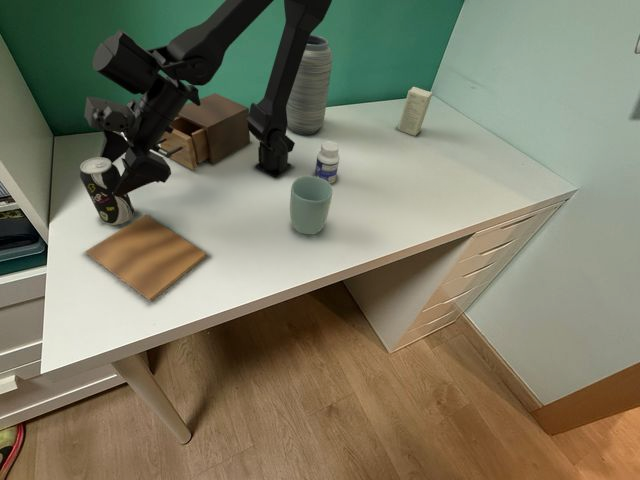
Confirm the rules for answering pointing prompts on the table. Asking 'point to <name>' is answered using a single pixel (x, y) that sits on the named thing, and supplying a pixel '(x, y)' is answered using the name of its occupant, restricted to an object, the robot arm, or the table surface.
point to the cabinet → (219, 124)
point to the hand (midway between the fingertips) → (107, 181)
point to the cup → (310, 204)
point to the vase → (310, 87)
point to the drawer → (185, 143)
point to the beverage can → (105, 190)
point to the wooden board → (147, 256)
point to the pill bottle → (327, 161)
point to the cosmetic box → (414, 110)
